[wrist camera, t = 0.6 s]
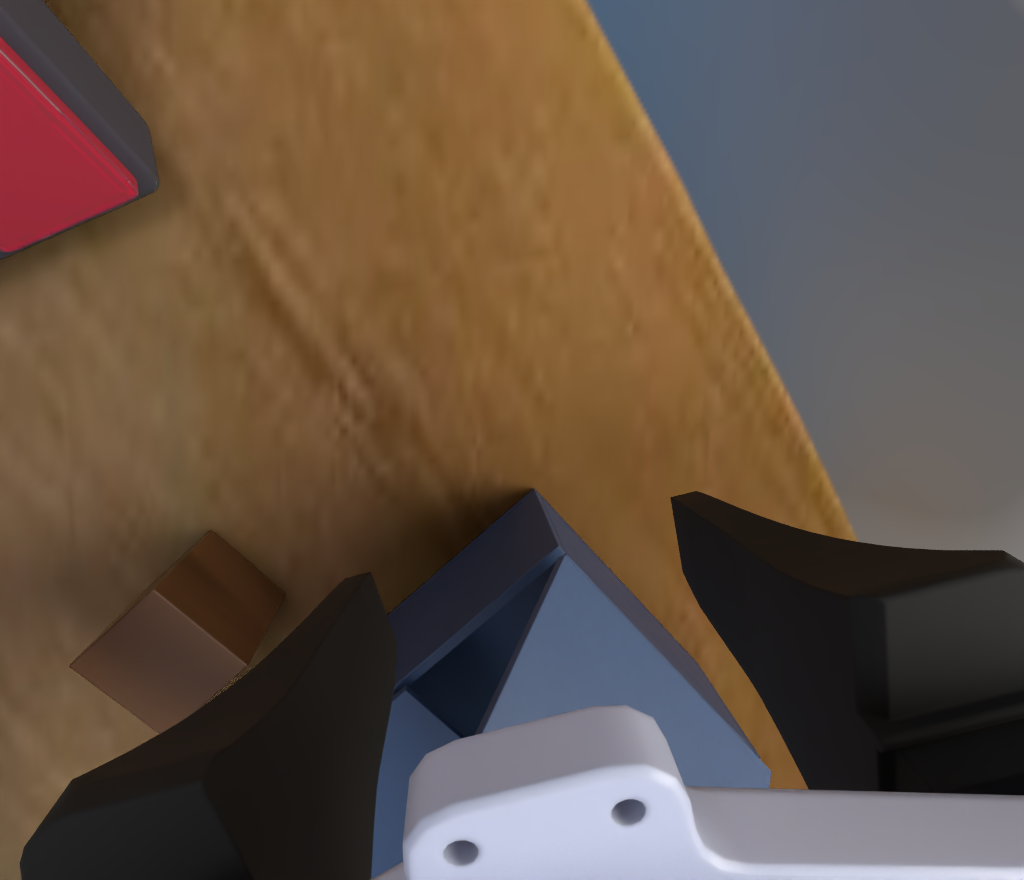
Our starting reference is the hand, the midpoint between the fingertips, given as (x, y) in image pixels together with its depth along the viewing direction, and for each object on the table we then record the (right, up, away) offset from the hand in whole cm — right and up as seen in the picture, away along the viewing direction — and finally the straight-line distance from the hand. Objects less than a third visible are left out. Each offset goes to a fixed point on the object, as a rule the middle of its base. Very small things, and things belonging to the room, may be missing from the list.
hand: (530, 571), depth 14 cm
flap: (+4, -7, +4) cm, 9 cm away
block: (-13, -3, +11) cm, 17 cm away
